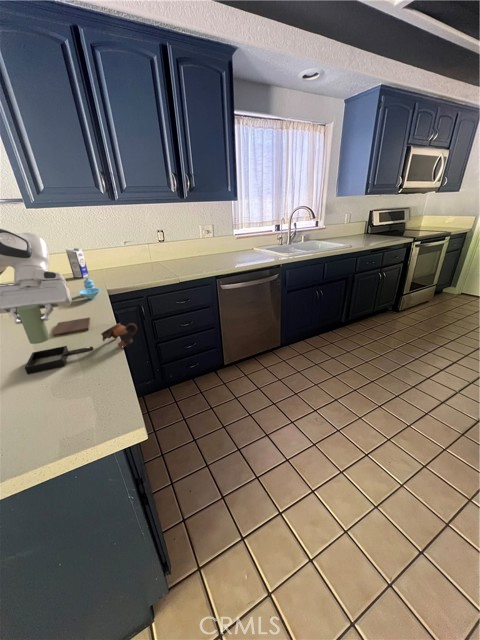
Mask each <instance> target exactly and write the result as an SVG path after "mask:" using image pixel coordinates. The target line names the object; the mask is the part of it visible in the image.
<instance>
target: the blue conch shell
mask: <svg viewBox="0 0 480 640" xmlns="http://www.w3.org/2000/svg"><path fill="white" fill-rule="evenodd" d="M83 284H84V285H83V286H84V288H83V289H81V290H79V291H78V295H81V296H82V297H84V298H86V299H88V300H94V299H95V298H96V297H97V296H98V294H99V293H100V291H101V288H99V287H95V283H94V281H93V279H90V277H86V278H85V280H83Z"/></svg>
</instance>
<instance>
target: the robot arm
mask: <svg viewBox="0 0 480 640" xmlns="http://www.w3.org/2000/svg"><path fill="white" fill-rule="evenodd" d="M8 267H10V268H13V271H14V272H13V282H8V283H0V315H1V314H11V315H12V317H13V318H14V324H15V325H23V324H22V322H21V319H20V317H19V314H18V312H17V308H18V307H20V306H24V305H32V304H38V305H39V308H40V310H42V309H45V311H44V313H42V314H41V320H43V321H44V322H48V321H50V316H51V314H52V313H53V311H54V308H60V307H68V306H70V305H71V304H72V294H71V290H70V289H69V287H68V283H67V281H66V279H65V277H64V276H63V275H62V274H61V273H59V272H55V271H50V270H49V267H50V251H49V247H48V245H47V242H46V241H45V240H44V239H43V237H41V236H39V235H37V234H35V233H31V232H22V233H14V232H11V231H9V230H6V229H4V228H0V276H1V275H2V274H3V273H4V272H5V271H6V270H7V268H8Z"/></svg>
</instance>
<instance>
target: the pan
mask: <svg viewBox="0 0 480 640" xmlns="http://www.w3.org/2000/svg"><path fill="white" fill-rule="evenodd" d="M94 349H95V348H94V346H86V347H81V348H77V349H76V348H75V349H72V350H69V349H68V345H64V346H58V347H53V348H47V349H44V350H43V349H42V350H38V351H33V352H32V353H31V355H30V356H29V358H28V360H27V362H26V364H25V366H24V370H25V372H26V374H27V375H32V374H37V373H42V372H45V371H46V372H47V371H50V370H54V369H59V368H64V367H66V364H65V363H67V360H68V357H70V356H74V355H80V354H85V353H89V352H93V351H94ZM60 355H61V357H60V359H56V360H50V361H46V362H41V363H36V362H37V360H39V359H40V358H41V359H45V358H50V357H54V356H60ZM49 356H50V357H49ZM44 357H45V358H44ZM66 359H67V360H66ZM35 361H36V362H35Z"/></svg>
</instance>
